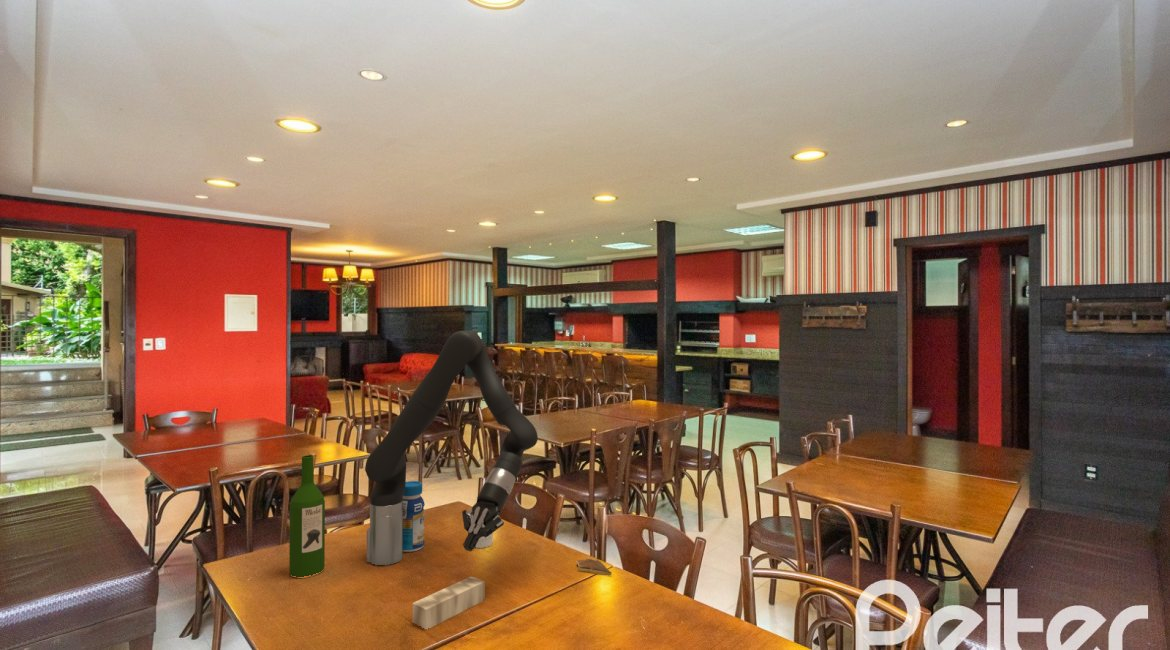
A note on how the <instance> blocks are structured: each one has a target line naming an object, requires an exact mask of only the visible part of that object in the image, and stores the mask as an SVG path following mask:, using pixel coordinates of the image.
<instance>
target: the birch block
mask: <svg viewBox="0 0 1170 650" xmlns="http://www.w3.org/2000/svg"><path fill="white" fill-rule="evenodd" d="M485 584H486V582H485V580H481V579H479V578H478V577H476V576H472V575H471V576H469V577H466V578H465V579H462V580H460V581H458V582H456V583H453V584H452V585H450V586H447V587H445V588H442V589H440V590H438V591H436V592H434V593H432V594H430V595H427V596H425V597H423V598H421V599H418V600H417V601H414V602H412V624H413V623H415V624H417V625H419V626H421V627H422V628H421V627H420V628H421V629H423V628H424V629H423V630H425V629H427V630H429V629H431V628H433V627H435V626H437V625H439V624H441V623H443V622H445V621H447V620H449V619H451V618H453V617H455V616H457V615H458V614H461V613H463V612H464V611H467V610H469V609H470V608H473V607H474V606H476V605H478V604H480V603H483V602H485V600H486V599H485V598H486V597H485V596H486V593H485V592H486V589H485V588H486V585H485ZM468 608H469V609H468ZM415 624H414V625H415ZM417 625H416V626H417ZM419 626H418V627H419ZM428 628H429V629H428Z"/></svg>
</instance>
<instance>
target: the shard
mask: <svg viewBox="0 0 1170 650" xmlns="http://www.w3.org/2000/svg"><path fill="white" fill-rule="evenodd" d="M575 562H576V564H577V565H578V568H577V571H578V572H585V573H591V574H594V575H598V576H599V575H600V576H606V575H611V576H612V573H613V572H612V571H610V569H608V567H606V565H604V563H603V562H602V561H600V560H599V559H596V558H585V559H578V560H576V561H575Z"/></svg>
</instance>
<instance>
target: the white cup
mask: <svg viewBox="0 0 1170 650" xmlns="http://www.w3.org/2000/svg"><path fill="white" fill-rule="evenodd" d="M472 518H473V515H472ZM471 521H472V519H471ZM493 538H494V532H493V533H492V534H490V535H489V536H488V537H481V538H479V540H478V542H477V544H476V546H475V547H476V548H475V549H485V548H484V547H486V548H489V547H491V546H492V545H493ZM490 545H491V546H490ZM488 546H489V547H488Z"/></svg>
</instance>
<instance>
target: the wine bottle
mask: <svg viewBox="0 0 1170 650" xmlns="http://www.w3.org/2000/svg"><path fill="white" fill-rule="evenodd" d="M314 472H315V471H314V455H313V454H306V455H303V456H301V477H300V478H301V480H300V481H301V483H300V485H299V487H298V488H297V490H296V491H295V493H294V495H292V497H291V499H290V502H289V551H288V552H289V561H288V562H289V569H288V571H289V576H290V575H292V576H296V577H304V576H309V575H313V574H316V573H319V572H321V571H322V570H323V569H324V570H325V568H324V567H326V566H325V564H326V563H325V561H326V560H325V556H326V554H325V553H326V552H325V551H326V549H325V548H326V547H325V545H326V544H325V543H326V542H325V541H326V539H325V537H326V535H325V534H326V532H325V531H326V530H325V528H326V526H325V525H326V522H325V521H326V520H325V519H326V517H325V516H326V514H325V513H326V501H325V497H324V496H325V495H324V494H323V493H322V492H321V490H320V489H319V488H318V486H317V485H316V483H315V479H314V477H315V476H314V474H315V473H314ZM324 570H323V571H324Z"/></svg>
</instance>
